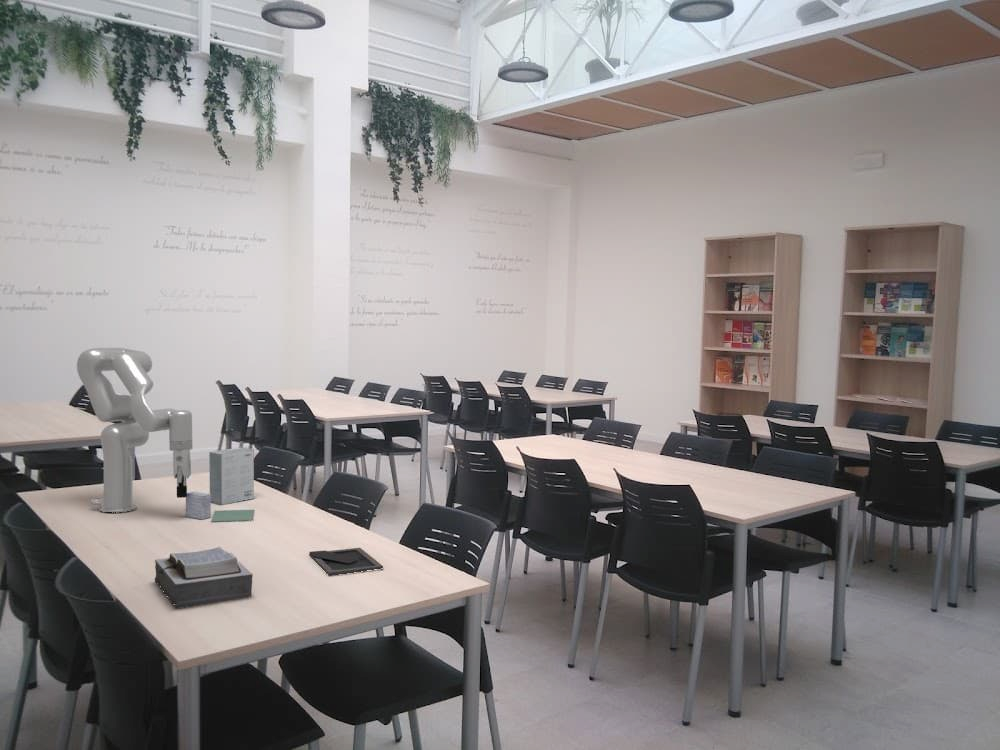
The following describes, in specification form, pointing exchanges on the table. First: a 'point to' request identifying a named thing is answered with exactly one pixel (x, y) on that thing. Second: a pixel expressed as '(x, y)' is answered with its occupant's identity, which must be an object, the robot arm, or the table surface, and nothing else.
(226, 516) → the felt pad
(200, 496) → the medicine box
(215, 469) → the hard drive box
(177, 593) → the book on foam base
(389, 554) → the table surface
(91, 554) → the table surface
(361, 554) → the picture frame
